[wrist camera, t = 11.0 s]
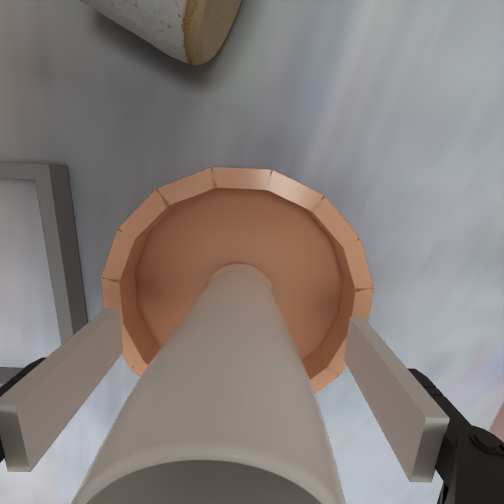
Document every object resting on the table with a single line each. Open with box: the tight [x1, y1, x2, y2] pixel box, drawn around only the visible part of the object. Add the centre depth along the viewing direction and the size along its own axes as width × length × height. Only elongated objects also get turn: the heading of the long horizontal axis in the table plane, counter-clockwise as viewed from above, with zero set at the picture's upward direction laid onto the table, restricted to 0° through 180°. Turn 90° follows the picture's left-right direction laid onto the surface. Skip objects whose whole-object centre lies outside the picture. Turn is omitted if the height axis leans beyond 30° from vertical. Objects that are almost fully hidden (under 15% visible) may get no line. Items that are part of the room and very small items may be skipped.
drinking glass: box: [71, 263, 346, 504], centre depth 13 cm, size 7×7×15 cm
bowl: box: [101, 167, 373, 393], centre depth 19 cm, size 18×18×3 cm
